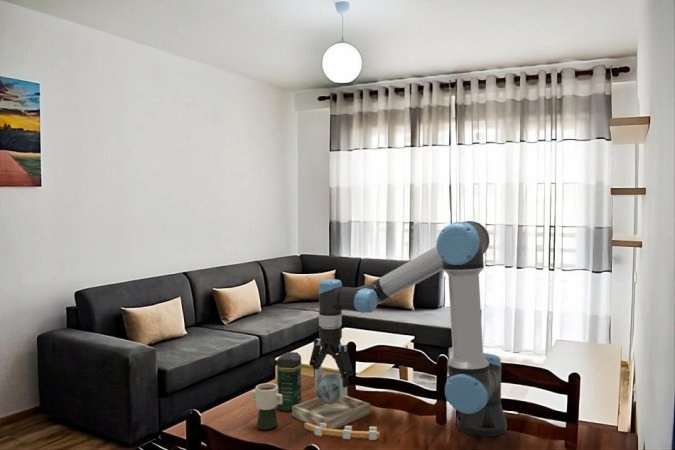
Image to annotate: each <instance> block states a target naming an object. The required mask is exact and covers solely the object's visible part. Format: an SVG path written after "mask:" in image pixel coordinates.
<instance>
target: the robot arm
mask: <svg viewBox="0 0 675 450" xmlns="http://www.w3.org/2000/svg"><path fill="white" fill-rule="evenodd" d="M489 246H490V234H489V232H488V230H487V229H486V227H485V226H483V225H482V224H481V223H479V222H477V221H473V220H467V221H466V220H465V221H456V222H452V223H450V224H448V225H446V226H445V227H444V228H443V229H442V230H441V231H440V233H439V234H438V236H437V239H436V246H434V247H432V248H430V249H428V250H427V251H425V252H423V253H421V254H419V255H418V256H416V257H415V258H413V259H411V260H409V261H407V262H406V263H404V264H402V265H400V266H399V267H396V269H395V268H394V269H393V270H391V271H390V272H388V273H386V274H384V275H382V276H381V277H379V278H377V279H375V280H373V281H371V282H370V283H368V284H364V285H361V286H358V287H349V286H348V287H346V286H343V284H342V281H341V279H336V278H335V279H333V278H330V279H327V278H326V279H323V280H320V282H319V283H318V284H319V285H318V309H319V310H318V313H319V314H318V326H319V328H318V337H319V338H315V339H313V349H312V352H311V356H310V360H309V364H308V365H309V366H310V367H312V369H313V377H314V389H315V390H316V389H317V386H318V384H319V382H320V380H321V379H322V378H323V368H322V364H323V363H324V361H325V358H326V356H327V355H329V356H331V357H332V358H333V359H334V362H335V364H336V366H337V369H338V372H339V374H340V375H341V377H340V397H341V398H342V397H345V396H348V387H349V377H353V375H354V370H353V367H352V362H351V358H350V354H349V345H348V344H342V343H341V340H342V337H343V328H342V325H343V324H342V323H343V322H342V314H343V313H342V312H343V311H347V312H355V313H357V312H358V313H362V314H364V313H367V314H368V313H373V312H374V311H375V309H376V308H377V306H378V305H380V304H383V303H385V302H386V301H387V300H389V299H391V298H392V297H394V296H396V295H398V294H401V292H404V291H405V290H407V289H409V288H411V287H414V286H415V285H417V284H419V283H420V282H422V281H424V280H426V279H428V278H430V277H431V276H434V275H435V274H437V273H440V272H441V271H444V273H446V274H447V276H448V289H449V290H448V291H449V293H448V294H449V308H450V312H449V313H450V327H451V329H450V331H451V344H452V345H451V347H452V357H451V358H450V359H449V360H448V362H447V367H448V368H447V370H448V372H447V373H448V379H447V380H446V383H445V387H444V394H445V399H446V401H447V402H448V403H449V405H450V406H451V407H453V409H454V410H456V411H458V413H457V416H456V426H457V428H458V430H460V431H461V432H463V433H465V434H467V435H471V436H476V437H479V438H480V437H482V438H493V437H498V436H499V437H500V436H501V435H504V434H505V433H506V432H507V429H508V424H507V423H508V422H507V419H506V416H505V413H504V410H503V406H502V361H501V358H500V356H497V355H495V354H492V353H486V352H484V345H483V328H482V325H483V324H482V307H481V292H480V276H479V275H480V273H481V272H482V271H483V270H484V268H485V265H484V263H485V262H484V254H485V253H486V252H487V251H488V248H489Z"/></svg>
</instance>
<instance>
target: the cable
mask: <svg viewBox="0 0 675 450" xmlns="http://www.w3.org/2000/svg"><path fill="white" fill-rule="evenodd" d="M303 425H304V429H306V430H308V431H311V432H313V433H315V432H314V427H315V426H316V425H313V424H311V423H308V422H307V423H306V422H304V424H303ZM318 427H319V426H318ZM343 430H344V429H338V428H337V429H328V428H322V435H325V436H326V435H327V436H333V437H340V438H341V437H342V438H343ZM376 434H377V439H380V431H377V432H376ZM350 438H353V439H354V438H358V439H359V438H361V439H369V430H366V431H365V430H352V431H350Z"/></svg>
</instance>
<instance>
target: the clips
mask: <svg viewBox="0 0 675 450" xmlns="http://www.w3.org/2000/svg"><path fill="white" fill-rule="evenodd" d="M322 428H327V424H325V423H320V427H318V426H315V427H314V432H313V433H314V436H318V437H321V436H323V434H322ZM368 428H369V430H368V431H369V438H368V440H370V441H377V439H378V438H377V434H376V432H378V426H369V427H368ZM342 430H343V437H342V439H343V440H351V437H350V431H353V425H344V429H342Z"/></svg>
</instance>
